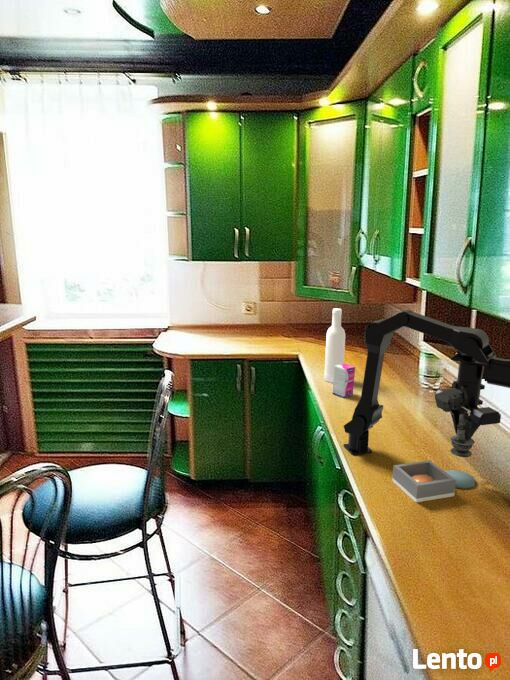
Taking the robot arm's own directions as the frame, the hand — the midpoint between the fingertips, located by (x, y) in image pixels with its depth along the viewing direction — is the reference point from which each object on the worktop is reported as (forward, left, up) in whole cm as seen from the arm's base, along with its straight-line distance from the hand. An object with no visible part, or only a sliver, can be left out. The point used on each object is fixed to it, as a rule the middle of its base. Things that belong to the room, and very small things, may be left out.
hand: (462, 436), depth 139 cm
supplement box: (-69, 0, -13) cm, 70 cm away
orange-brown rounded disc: (+1, -11, -11) cm, 16 cm away
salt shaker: (0, 0, -5) cm, 5 cm away
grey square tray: (+1, -11, -13) cm, 17 cm away
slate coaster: (0, 0, -13) cm, 13 cm away
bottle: (-86, +4, -13) cm, 87 cm away
